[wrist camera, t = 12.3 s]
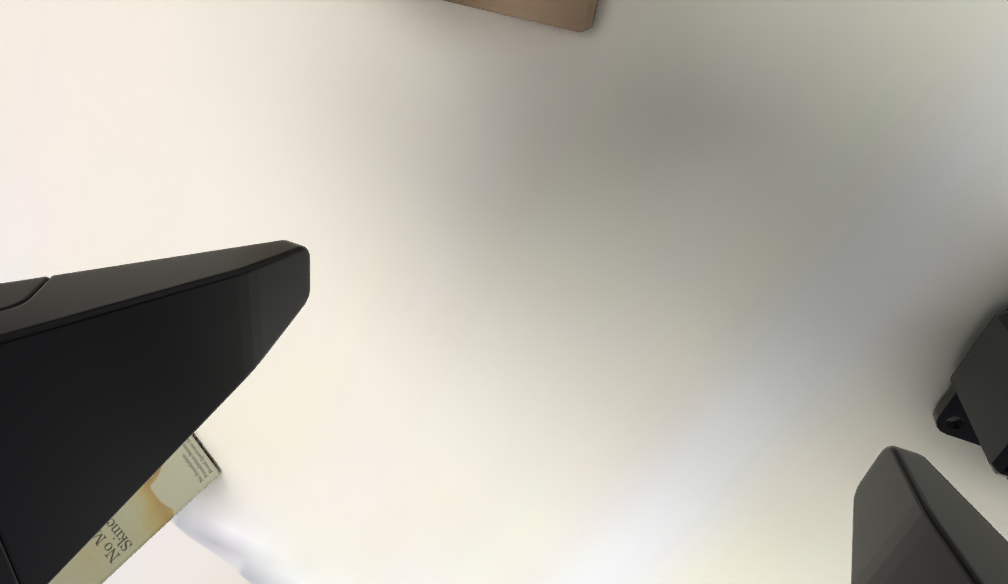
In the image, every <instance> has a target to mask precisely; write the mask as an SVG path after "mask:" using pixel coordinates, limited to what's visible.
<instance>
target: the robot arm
mask: <svg viewBox="0 0 1008 584" xmlns="http://www.w3.org/2000/svg"><path fill="white" fill-rule="evenodd" d="M309 293H310V254H309V251H308V250H307V248H306V247H304V246H301V245H299V244H296V243H293V242H290V241H286V240H280V241H274V242H267V243H261V244H254V245H248V246H241V247H235V248H228V249H222V250H216V251H209V252H203V253H196V254H190V255H183V256H177V257H170V258H164V259H157V260H151V261H144V262H138V263H132V264H125V265H119V266H112V267H106V268H99V269H93V270H86V271H80V272H73V273H67V274H60V275H54V276H52V277H51V278H50V279H49V278H48V277H40V278H34V279H27V280H21V281H14V282H7V283H0V584H49V583H50V582H51V581H52V580H53V579H54V578H55V577H56V575H57V574H58V573H59V572H60V571H61V570H62V569H63V568H64V567H65V566H66V565H67V564H68V563H69V562H70V561H71V560H72V559H73V558H74V557H75V556H76V555H77V554H78V553H79V552H80V551H81V549H82V548H83V547H84V546H85V545H86V544H87V543H88V542H89V541H90V540H91V539H92V538H93V537H94V536H95V535H96V534H97V533H98V532H99V531H100V530H101V529H102V528H103V527H104V526H105V525H106V523H107V522H108V521H109V520H110V519H111V518H112V517H113V516H114V515H115V514H116V513H117V512H118V511H119V510H120V509H121V508H122V507H123V506H124V505H125V504H126V503H127V502H128V501H129V500H130V498H131V497H132V496H133V495H134V494H135V493H136V492H137V491H138V490H139V489H140V488H141V487H142V486H143V485H144V484H145V483H146V482H147V481H148V480H149V479H150V478H151V477H152V476H153V475H154V474H155V472H156V471H157V470H158V469H159V468H160V467H161V466H162V465H163V464H164V463H165V462H166V461H167V460H168V459H169V458H170V457H171V456H172V455H173V454H174V453H175V452H176V451H177V450H178V449H179V448H180V446H181V445H182V444H183V443H184V442H185V441H186V440H187V439H188V438H189V437H190V436H191V435H192V434H193V433H194V432H195V431H196V430H197V429H198V428H199V427H200V426H201V425H202V424H203V423H204V421H205V420H206V419H207V418H208V417H209V416H210V415H211V414H212V413H213V412H214V411H215V410H216V409H217V408H218V407H219V406H220V405H221V404H222V403H223V402H224V401H225V400H226V399H227V398H228V397H229V395H230V394H231V393H232V392H233V391H234V390H235V389H236V388H237V387H238V386H239V385H240V384H241V383H242V382H243V381H244V380H245V379H246V378H247V377H248V375H249V374H250V373H251V372H252V371H253V370H254V369H255V368H256V366H257V365H258V364H259V363H260V362H261V360H262V359H263V358H264V357H265V355H266V354H267V353H268V351H269V350H270V349H271V348H272V346H273V345H274V344H275V342H276V341H277V340H278V339H279V337H280V336H281V335H282V333H283V332H284V331H285V329H286V328H287V327H288V326H289V324H290V323H291V322H292V320H293V319H294V318H295V316H296V315H297V314H298V313H299V311H300V310H301V309H302V307H303V306H304V305H305V303H306V301H307V299H308V297H309ZM951 382H952V384H953V385H952V386H951V388H950V389H949V391H948V392H947V393H946V395H945V396H944V398H943V399H942V400H941V402H940V403H939V405H938V406H937V407H936V409H935V411H934V413H933V417H934V421H935V423H936V426H937V428H938V429H939V430H940V431H941V432H943V433H945V434H947V435H950V436H953V437H956V438H959V439H962V440H966V441H969V442H972V443H975V444H978V445H981V446H982V449H983V451H984V453H985V455H986V457H987V459H988V462H989V464H990V466H991V468H992V470H993V471H994V472H995V473H996V474H998V475H1001V476H1004V477H1007V479H1008V308H1007V310H1006V311H1004V312H1002V313H1000V314H998V315H995V316H994V318H993V319H992V320H991V322H990V323H989V325H988V326H987V327H986V329H985V330H984V332H983V333H982V334H981V336H980V337H979V339H978V340H977V341H976V343H975V344H974V346H973V347H972V349H971V350H970V351H969V353H968V354H967V356H966V357H965V358H964V360H963V361H962V363H961V364H960V365H959V367H958V368H957V370H956V371H955V372H954V374H953V375H952V377H951ZM953 416H957V417H960V418H959V419H958V420H957V421H947V419H948V418H949V417H953ZM851 584H1008V542H1007V541H1006V540H1005V538H1004V537H1003V536H1002V535H1001V534H1000V533H999V532H998V531H997V530H996V529H995V528H994V527H993V526H992V525H991V524H990V523H989V522H988V521H987V520H986V519H985V518H984V517H983V516H982V515H981V514H980V513H979V512H978V511H977V510H976V509H975V508H974V507H973V506H972V505H971V504H970V503H969V502H968V501H967V500H966V499H965V498H964V497H963V496H962V495H961V494H960V493H959V492H958V491H957V490H956V489H955V488H954V487H953V486H952V485H951V484H950V483H949V482H948V481H947V480H946V479H945V478H944V476H943V475H942V474H941V473H940V472H939V471H938V470H937V469H936V468H935V467H934V466H933V465H932V464H931V463H930V462H929V461H928V460H927V459H926V458H925V457H923V456H921V455H920V454H917V453H914V452H911V451H908V450H905V449H902V448H899V447H896V446H890V447H886V448H885V449H884V450H883V451H882V452H881V453H880V455H879V456H878V457H877V459H876V460H875V462H874V463H873V465H872V466H871V468H870V469H869V471H868V472H867V473H866V475H865V476H864V478H863V479H862V481H861V482H860V484H859V485H858V487H857V490H856V493H855V496H854V507H853V540H852V573H851Z"/></svg>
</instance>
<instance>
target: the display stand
mask: <svg viewBox="0 0 1008 584" xmlns="http://www.w3.org/2000/svg"><path fill="white" fill-rule="evenodd" d="M444 1H448V2H452V3H457V4H461V5H465V6H470V7H474V8H478V9H482V10H487V11H491V12H495V13H500V14H504V15H508V16H512V17H517V18H521V19H525V20H529V21H534V22H538V23H542V24H547V25H551V26H555V27H559V28H564V29H568V30H572V31H577V32H582V31H584V30H586V29H589V28H591V27H592V24H593V20H594V15H595V11H596V7H597V2H598V0H444Z"/></svg>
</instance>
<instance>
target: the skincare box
mask: <svg viewBox="0 0 1008 584" xmlns="http://www.w3.org/2000/svg"><path fill="white" fill-rule="evenodd" d="M218 475H219V472H218V470H217V469H216V467H215V466H214V465H213V463H212V462H211V461H210V459H209V458H208V457H207V455H206V454H205V452H204V451H203V450H202V448H201V447H200V446H199V444H198V443H197V442H196V440H195V439H194V438H193V436H192V435H191V436H190V437H189V438H188V439H187V440H186V441H185V442H184V443H183V444H182V445H181V446H180V448H179V449H178V450H177V451H176V452H175V453H174V454H173V455H172V456H171V457H170V458H169V459H168V460H167V461H166V462H165V463H164V464H163V465H162V466H161V467H160V468H159V469H158V470H157V471H156V472H155V474H154V475H153V476H152V477H151V478H150V479H149V480H148V481H147V482H146V483H145V484H144V485H143V486H142V487H141V488H140V489H139V490H138V491H137V492H136V493H135V494H134V495H133V496H132V497H131V498H130V500H129V501H128V502H127V503H126V504H125V505H124V506H123V507H122V508H121V509H120V510H119V511H118V512H117V513H116V514H115V515H114V516H113V517H112V518H111V519H110V520H109V521H108V522H107V523H106V525H105V526H104V527H103V528H102V529H101V530H100V531H99V532H98V533H97V534H96V535H95V536H94V537H93V538H92V539H91V540H90V541H89V542H88V543H87V544H86V545H85V546H84V547H83V548H82V549H81V551H80V552H79V553H78V554H77V555H76V556H75V557H74V558H73V559H72V560H71V561H70V562H69V563H68V564H67V565H66V566H65V567H64V568H63V569H62V570H61V571H60V572H59V573H58V574H57V575H56V577H55V578H54V579H53V580H52V581H51V582H50V583H49V584H102V583H103V582H104V581H105V580H106V579H107V578H108V577H110V576H111V575H112V574H113V573H114V572H115V571H116V570H117V569H118V568H119V567H120V566H121V565H122V564H123V563H125V562H126V561H127V560H128V559H129V558H130V557H131V556H132V555H133V554H134V553H135V552H136V551H137V550H138V549H140V548H141V547H142V546H143V545H144V544H145V543H146V542H147V541H148V540H149V539H150V538H151V537H152V536H154V535H155V534H156V533H157V532H158V531H159V530H160V529H161V528H162V527H163V526H164V525H165V524H166V523H167V522H169V521H170V520H171V519H172V518H173V517H174V516H175V515H176V514H177V513H178V512H179V511H181V510H182V509H183V508H184V507H185V506H186V505H187V504H188V503H189V502H190V501H191V500H192V499H193V498H195V497H196V496H197V495H198V494H199V493H200V492H201V491H202V490H203V489H204V488H205V487H206V486H207V485H208V484H209V483H210V482H212V481H213V480H214V479H215V478H216V477H217V476H218Z"/></svg>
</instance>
